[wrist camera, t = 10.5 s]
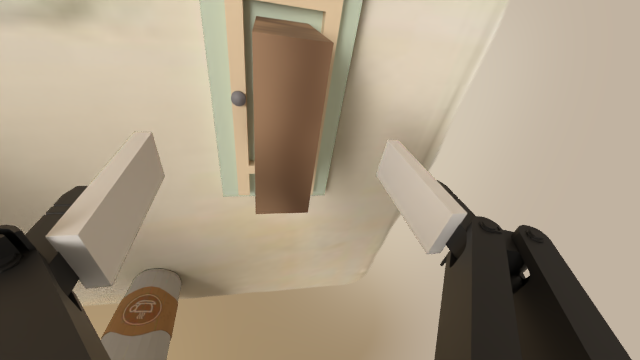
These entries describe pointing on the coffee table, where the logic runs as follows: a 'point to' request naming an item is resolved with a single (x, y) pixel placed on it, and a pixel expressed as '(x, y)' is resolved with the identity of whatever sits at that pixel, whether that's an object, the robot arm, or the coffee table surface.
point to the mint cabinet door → (237, 78)
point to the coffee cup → (144, 318)
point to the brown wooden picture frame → (287, 111)
